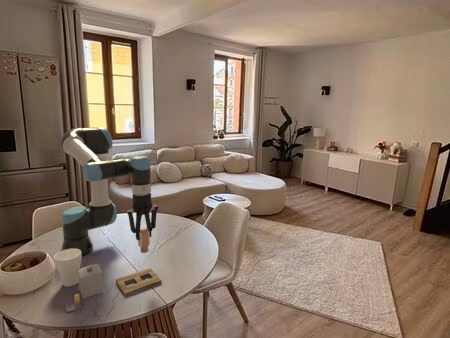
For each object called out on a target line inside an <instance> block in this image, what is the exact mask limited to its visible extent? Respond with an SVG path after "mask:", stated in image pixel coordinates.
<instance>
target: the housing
mask: <svg viewBox="0 0 450 338" xmlns="http://www.w3.org/2000/svg"><path fill="white" fill-rule="evenodd" d="M77 273H78V283H77V284H78V290H79V294H80V295H81V297H82V299H86V298H90V297H92V296H96V295H99V294H101V293H104V292H105V290H104V276H103V275H104V273H103V270H102V268H101V266H100V265H99V264H98V263H94V264H90V265H87V266H84V267H80V268H79V269H77Z"/></svg>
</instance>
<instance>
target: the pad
mask: <svg viewBox="0 0 450 338" xmlns="http://www.w3.org/2000/svg"><path fill="white" fill-rule="evenodd" d="M80 295H81V294H80V293H75V294H74V295H73V296H74V298H73V299H74V301H72V302H69V303H68V302H67V303H66V304H64V307H65V312H66V313H67V314H70V313H72V312H76V311H78V310H80V309H82V308H83V307H82V306H83V305H82V304H81V299H80V298H81V297H80Z"/></svg>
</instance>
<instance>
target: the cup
mask: <svg viewBox="0 0 450 338" xmlns="http://www.w3.org/2000/svg"><path fill="white" fill-rule="evenodd" d="M82 257H83V256H82V252H81V250H79V249H66V250H63V251H61V250H59V251H58V252H56V253H55V254H54V256H53V261H54V264H55V267H56V270H57V273H58V274H59V276H60V279H61V282H62V283H61V284H62V286H64V287H66V288H67V287H68V288H69V287H73V286H75V285H77V284H78V273H77V269H79V268H81V265H82Z"/></svg>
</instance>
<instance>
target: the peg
mask: <svg viewBox="0 0 450 338" xmlns="http://www.w3.org/2000/svg"><path fill="white" fill-rule="evenodd" d="M140 233H142V248H140V253H142V254H146V253H148V252H149V246H148V235H147V227H146V228H145V227H142V228H140Z"/></svg>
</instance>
